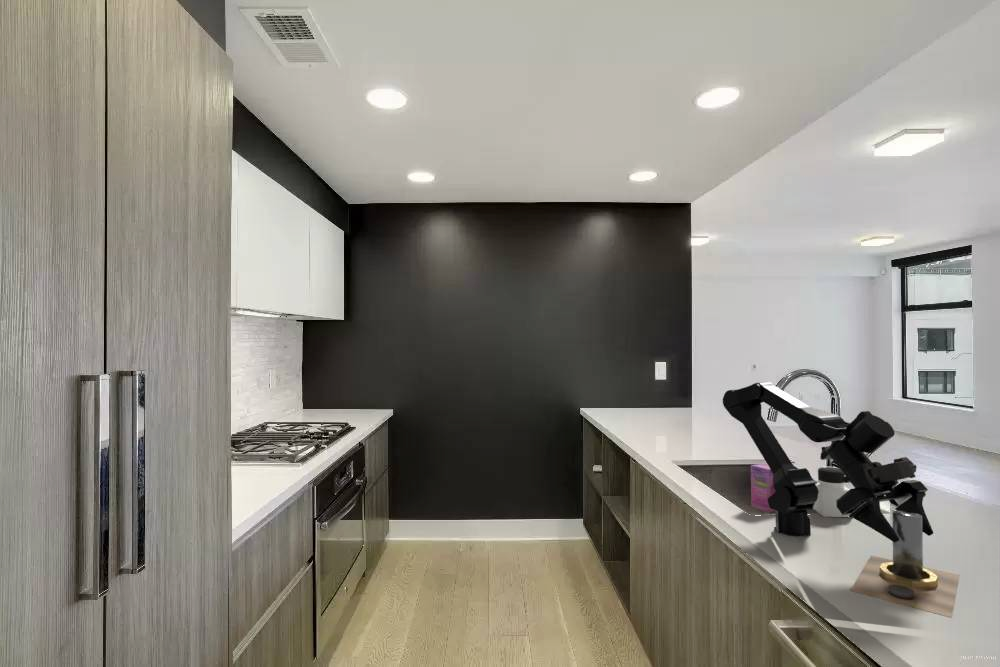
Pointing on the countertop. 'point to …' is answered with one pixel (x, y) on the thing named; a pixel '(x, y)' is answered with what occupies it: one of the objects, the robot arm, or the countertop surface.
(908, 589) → the board
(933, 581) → the brass ring
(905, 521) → the steel peg
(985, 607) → the countertop surface
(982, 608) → the countertop surface
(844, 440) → the robot arm
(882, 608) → the countertop surface
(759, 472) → the box
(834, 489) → the medicine bottle
